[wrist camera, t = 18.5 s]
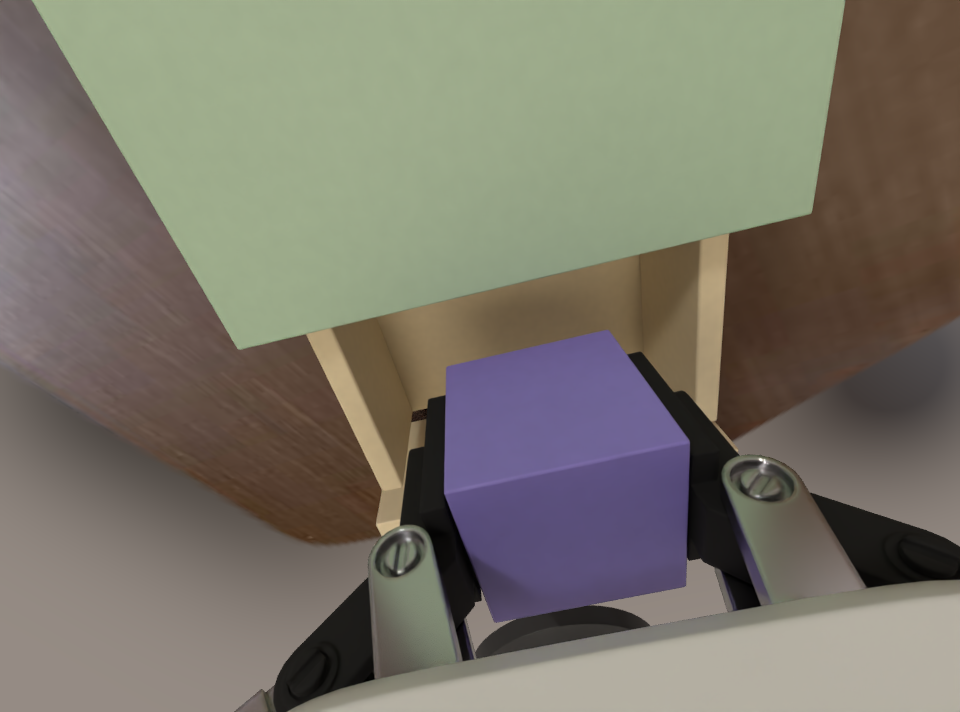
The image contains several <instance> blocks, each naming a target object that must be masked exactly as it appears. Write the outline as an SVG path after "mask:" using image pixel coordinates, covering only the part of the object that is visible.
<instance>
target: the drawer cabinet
mask: <svg viewBox="0 0 960 712" xmlns="http://www.w3.org/2000/svg"><path fill="white" fill-rule="evenodd" d="M32 2H33V3H34V5H35V7H36V8H37V10H38V12H39V13H40V15H41V17H42V18H43V20H44V22H45V24H46V25H47V27H48V29H49V30H50V32H51V34H52V35H53V37H54V39H55V40H56V42H57V44H58V46H59V47H60V49H61V51H62V52H63V54H64V56H65V57H66V59H67V61H68V62H69V64H70V66H71V68H72V69H73V71H74V73H75V74H76V76H77V78H78V79H79V81H80V83H81V84H82V86H83V88H84V90H85V91H86V93H87V95H88V96H89V98H90V100H91V101H92V103H93V105H94V106H95V108H96V110H97V112H98V113H99V115H100V117H101V118H102V120H103V122H104V123H105V125H106V127H107V128H108V130H109V132H110V134H111V135H112V137H113V139H114V140H115V142H116V144H117V145H118V147H119V149H120V150H121V152H122V154H123V156H124V157H125V159H126V161H127V162H128V164H129V166H130V167H131V169H132V171H133V172H134V174H135V176H136V178H137V179H138V181H139V183H140V184H141V186H142V188H143V189H144V191H145V193H146V194H147V196H148V198H149V200H150V201H151V203H152V205H153V206H154V208H155V210H156V211H157V213H158V215H159V216H160V218H161V220H162V222H163V223H164V225H165V227H166V228H167V230H168V232H169V233H170V235H171V237H172V238H173V240H174V242H175V244H176V245H177V247H178V249H179V250H180V252H181V254H182V255H183V257H184V259H185V261H186V262H187V264H188V266H189V267H190V269H191V271H192V272H193V274H194V276H195V277H196V279H197V281H198V283H199V284H200V286H201V288H202V289H203V291H204V293H205V294H206V296H207V298H208V299H209V301H210V303H211V305H212V306H213V308H214V310H215V311H216V313H217V315H218V316H219V318H220V320H221V321H222V323H223V325H224V327H225V328H226V330H227V332H228V333H229V335H230V337H231V338H232V340H233V342H234V343H235V345H236V347H237V348H238V349H239V350H241V349H245V348H250V347H254V346H258V345H262V344H266V343H271V342H275V341H279V340H283V339H287V338H292V337H296V336H300V335H304V334H308V333H313V332H317V331H321V330H325V329H329V328H334V327H338V326H342V325H346V324H350V323H355V322H359V321H363V320H367V319H371V318H376V317H380V316H384V315H388V314H392V313H397V312H401V311H405V310H409V309H413V308H418V307H422V306H426V305H430V304H434V303H439V302H443V301H447V300H451V299H455V298H460V297H464V296H468V295H472V294H476V293H481V292H485V291H489V290H493V289H497V288H502V287H506V286H510V285H514V284H518V283H523V282H527V281H531V280H535V279H539V278H544V277H548V276H552V275H556V274H560V273H565V272H569V271H573V270H577V269H581V268H586V267H590V266H594V265H598V264H602V263H607V262H611V261H615V260H619V259H623V258H628V257H632V256H636V255H640V254H644V253H649V252H653V251H657V250H661V249H665V248H670V247H674V246H678V245H682V244H686V243H691V242H695V241H699V240H703V239H707V238H712V237H716V236H720V235H724V234H728V233H733V232H737V231H741V230H745V229H749V228H754V227H758V226H762V225H766V224H770V223H775V222H779V221H783V220H787V219H791V218H796V217H800V216H804V215H808V214H811V212H812V208H813V202H814V196H815V189H816V183H817V177H818V170H819V164H820V158H821V151H822V145H823V139H824V132H825V126H826V120H827V113H828V107H829V101H830V94H831V88H832V82H833V75H834V69H835V63H836V56H837V50H838V44H839V37H840V31H841V25H842V19H843V12H844V6H845V0H32Z"/></svg>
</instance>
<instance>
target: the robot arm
mask: <svg viewBox="0 0 960 712" xmlns="http://www.w3.org/2000/svg"><path fill="white" fill-rule="evenodd" d="M627 355H628V357H629V358H630V360H631V361H632V362H633V364H634V365H635V366H636V368H637V369H638V371H639V372H640V373H641V375H642V376H643V377H644V379H645V380H646V381H647V383H648V384H649V386H650V387H651V388H652V390H653V391H654V392H655V394H656V395H657V397H658V398H659V399H660V401H661V402H662V403H663V405H664V406H665V408H666V409H667V410H668V412H669V413H670V414H671V416H672V417H673V419H674V420H675V421H676V423H677V424H678V425H679V427H680V428H681V430H682V431H683V432H684V434H685V435H686V436H687V438H688V439H689V441H690V463H689V498H688V534H687V558H688V560H689V561H690V560H695V559H700V558H701V559H702V561H703V562H705V563H707V564H709V565H711V566H713V567H715V573H716V576H717V579H718V582H719V586H720V589H721V592H722V595H723V598H724V602H725V605H726V608H727V611H728V612H727V613H721V614H716V615H710V616H704V617H699V618H694V619H688V620H682V621H677V622H672V623H666V624H660V625H655V626H649V627H644V628H639V629H633V630H628V631H622V632H617V633H611V634H606V635H601V636H595V637H590V638H585V639H579V640H574V641H568V642H563V643H558V644H552V645H547V646H542V647H536V648H531V649H526V650H521V651H516V652H510V653H505V654H500V655H495V656H489V657H484V658H479V659H477V658H476V654H475V651H474V647H473V643H472V639H471V635H470V631H469V627H468V624H467V620H466V616H467V615H468V614H469V612H470V611H471V610H472V608H473V607H474V606H475V602H478V601H481V600H482V599H481V587H480V584H479V582H478V579H477V577H476V574H475V572H474V569H473V566H472V564H471V561H470V559H469V556H468V554H467V551H466V548H465V546H464V543H463V541H462V538H461V536H460V533H459V530H458V528H457V525H456V523H455V520H454V518H453V515H452V512H451V510H450V507H449V505H448V502H447V500H446V497H445V494H444V461H445V404H446V395H443V396H439V397H434V398H430V399H428V405H427V418H426V431H425V443H424V447H419V448H415V449H411V450H410V451H409V455H408V462H407V470H406V478H405V486H404V494H403V502H402V510H401V519H400V526H399V527H396V528H394V529H392V530H390V531H388V532H387V533H385V534H384V535H383V536H382V537H381V538H380V539H379V540H378V541H377V543H376V544H375V545H374V547H373V548H372V550H371V553H370V555H369V559H368V578H367V579H366V580H365V581H364V582H363V583H362V584H361V585H360V586H359V587H358V588H357V589H356V590H355V591H354V592H353V593H352V594H351V595H350V596H349V597H348V598H347V599H346V600H345V601H344V602H343V603H342V604H341V605H340V606H339V607H338V608H337V609H336V610H335V611H334V612H333V613H332V614H331V615H330V616H329V617H328V618H327V619H326V620H325V621H324V622H323V623H322V624H321V625H320V626H319V627H318V628H317V629H316V630H315V631H314V632H313V633H312V634H311V635H310V636H309V637H308V638H307V639H306V641H304V642H303V643H302V644H301V645H300V646H299V647H298V648H297V649H296V650H295V651H294V653H293V654H292V655H291V656H290V658H289V659H288V660H287V661H286V663H285V664H284V666H283V667H282V669H281V671H280V673H279V675H278V677H277V680H276V683H275V685H274V686H273V687H272V688H271V689H269V690H268V691H267V692H264V690H263V689H261V690H260V691H258V692H257V693H256V694H255V695H254V696H253V697H251V698H250V699H249V700H248V701H246V702H245V703H244V704H243V705H242V706H241V707H239V708H238V709H237V710H236V711H235V712H960V547H959V546H958V545H956V544H954V543H953V542H951V541H949V540H948V539H946V538H944V537H941V536H939V535H937V534H934V533H932V532H929V531H927V530H924V529H920V528H917V527H914V526H911V525H908V524H905V523H902V522H899V521H896V520H893V519H890V518H887V517H884V516H881V515H878V514H874V513H871V512H868V511H865V510H862V509H859V508H856V507H853V506H850V505H847V504H843V503H841V502H838V501H835V500H831V499H828V498H825V497H822V496H819V495H816V494H813V493H810V492H809V491H808V489H807V488H806V486H805V484H804V483H803V481H802V479H801V478H800V477H799V475H798V474H797V473H796V472H795V471H794V470H793V469H791V468H790V467H789V466H787V465H786V464H785V463H782V462H780V461H778V460H776V459H773V458H770V457H765V456H762V455H742V456H740V455H739V454H738V453H737V452H736V450H735V449H734V448H733V447H732V446H731V445H730V443H729V442H728V441H727V440H726V439H725V437H724V436H723V435H722V434H721V433H720V431H719V430H718V429H717V428H716V427H715V426H714V424H713V423H712V422H711V421H710V420H709V418H708V417H707V416H706V415H705V414H704V412H703V411H702V410H701V409H700V408H699V407H698V405H697V404H696V403H695V402H694V401H693V399H692V398H691V397H690V396H689V395H688V394H687V393H686V392H685V391H682V390H681V391H677V392H673V391H672V389H671V388H670V387H669V386H668V384H667V383H666V382H665V381H664V379H663V378H662V377H661V376H660V374H659V373H658V372H657V370H656V369H655V368H654V367H653V365H652V364H651V363H650V362H649V360H648V359H647V358H646V357H645V355H644V354H643V353H642V352H635V353H631V354H627Z"/></svg>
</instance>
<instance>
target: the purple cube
mask: <svg viewBox="0 0 960 712" xmlns="http://www.w3.org/2000/svg"><path fill="white" fill-rule="evenodd" d="M689 463H690V441H689V439H688V438H687V436H686V435H685V434H684V432H683V431H682V430H681V428H680V427H679V425H678V424H677V423H676V421H675V420H674V419H673V417H672V416H671V414H670V413H669V412H668V410H667V409H666V408H665V406H664V405H663V403H662V402H661V401H660V399H659V398H658V397H657V395H656V394H655V392H654V391H653V390H652V388H651V387H650V386H649V384H648V383H647V381H646V380H645V379H644V377H643V376H642V375H641V373H640V372H639V371H638V369H637V368H636V366H635V365H634V364H633V362H632V361H631V360H630V358H629V357H628V355H627V354H626V353H625V351H624V350H623V349H622V347H621V346H620V344H619V343H618V342H617V340H616V339H615V338H614V336H613V335H612V333H611V332H610V331H609V330H604V331H599V332H595V333H591V334H586V335H582V336H577V337H573V338H569V339H564V340H560V341H556V342H551V343H547V344H542V345H538V346H534V347H529V348H525V349H521V350H516V351H512V352H507V353H503V354H499V355H494V356H490V357H486V358H481V359H477V360H472V361H468V362H464V363H459V364H455V365H451V366H447V367H446V404H445V461H444V494H445V497H446V500H447V502H448V505H449V507H450V510H451V512H452V515H453V518H454V520H455V523H456V525H457V528H458V530H459V533H460V536H461V538H462V541H463V543H464V546H465V548H466V551H467V554H468V556H469V559H470V561H471V564H472V566H473V569H474V572H475V574H476V577H477V579H478V582H479V584H480V587H481V590H482V592H483V595H484V597H485V600H486V602H487V605H488V607H489V610H490V613H491V615H492V618H493V620H494V622H496V623H497V622H503V621H508V620H513V619H518V618H524V617H529V616H534V615H539V614H545V613H550V612H555V611H560V610H566V609H571V608H576V607H582V606H587V605H592V604H597V603H603V602H607V601H613V600H618V599H624V598H629V597H634V596H639V595H644V594H650V593H655V592H660V591H665V590H671V589H676V588H681V587H685V586H686V569H687V568H686V567H687V534H688V498H689Z"/></svg>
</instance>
